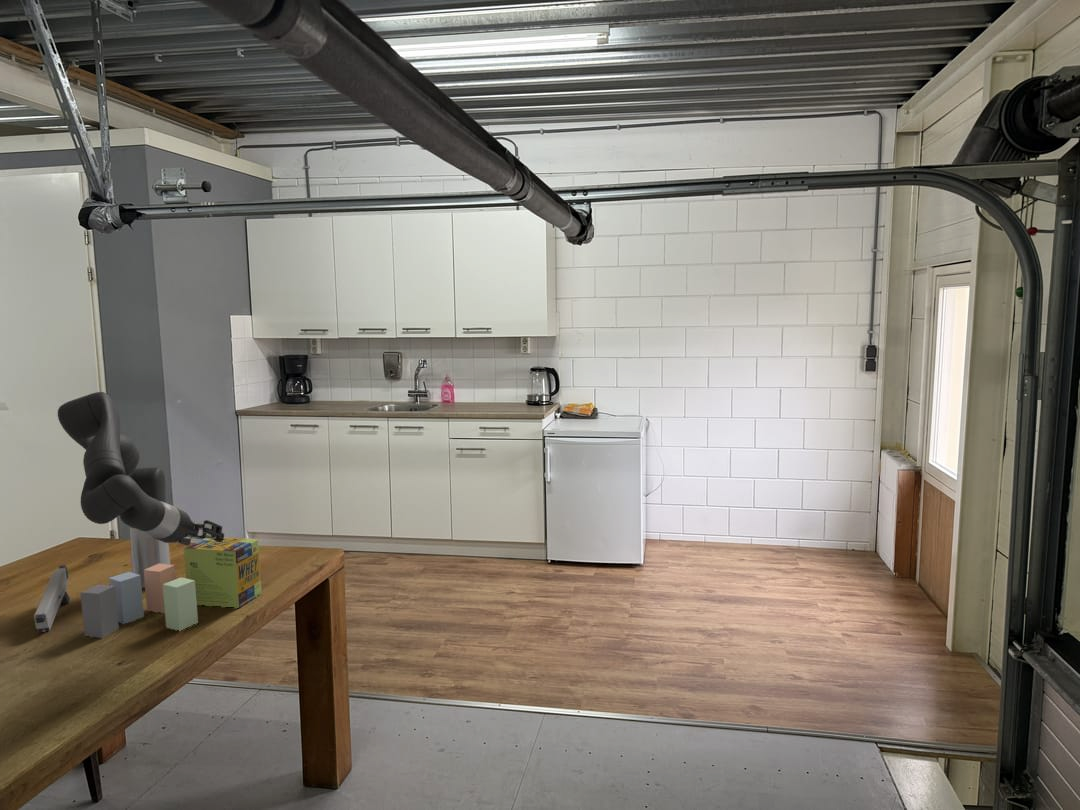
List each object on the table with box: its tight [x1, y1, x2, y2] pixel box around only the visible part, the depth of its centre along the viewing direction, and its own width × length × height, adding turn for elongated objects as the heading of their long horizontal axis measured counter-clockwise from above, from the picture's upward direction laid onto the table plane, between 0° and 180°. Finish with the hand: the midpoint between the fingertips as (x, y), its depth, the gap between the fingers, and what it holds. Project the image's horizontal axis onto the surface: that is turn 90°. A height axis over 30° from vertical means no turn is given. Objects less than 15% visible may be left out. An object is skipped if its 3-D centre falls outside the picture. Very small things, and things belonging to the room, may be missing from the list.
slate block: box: [108, 571, 145, 625], centre depth 179 cm, size 5×5×11 cm
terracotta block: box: [144, 563, 177, 614], centre depth 185 cm, size 5×5×11 cm
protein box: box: [183, 537, 262, 609], centre depth 190 cm, size 10×15×16 cm
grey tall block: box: [79, 584, 120, 639], centre depth 171 cm, size 5×5×11 cm
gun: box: [33, 564, 71, 633], centre depth 182 cm, size 2×25×10 cm, turn 21°
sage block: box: [163, 577, 199, 632], centre depth 174 cm, size 5×5×11 cm
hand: (205, 539), depth 172 cm, fingers open, 8 cm apart
